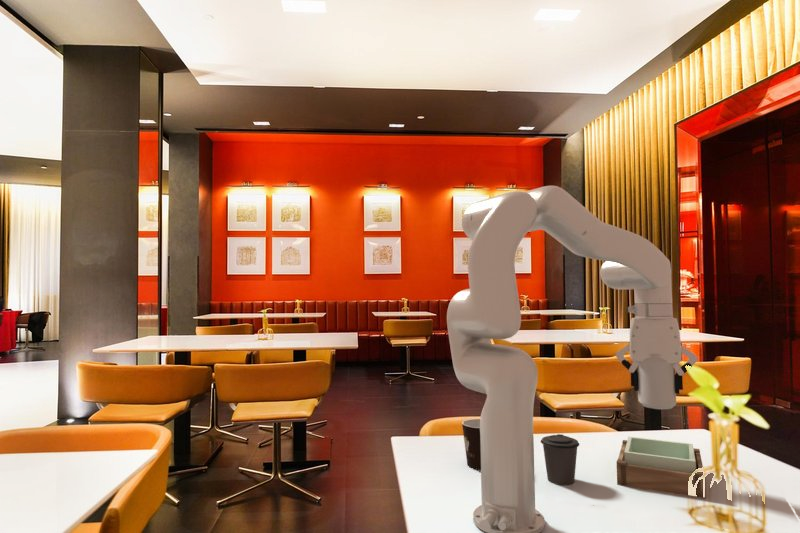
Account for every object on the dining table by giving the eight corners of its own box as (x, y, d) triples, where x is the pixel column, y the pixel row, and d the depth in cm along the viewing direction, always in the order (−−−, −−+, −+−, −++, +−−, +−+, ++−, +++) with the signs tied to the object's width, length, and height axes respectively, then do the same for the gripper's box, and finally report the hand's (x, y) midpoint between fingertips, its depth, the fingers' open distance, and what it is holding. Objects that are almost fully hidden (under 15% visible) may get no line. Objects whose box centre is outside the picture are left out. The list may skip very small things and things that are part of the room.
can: (667, 402, 112) (665, 350, 113) (683, 410, 105) (680, 353, 105) (633, 402, 113) (631, 350, 114) (646, 410, 105) (644, 353, 106)
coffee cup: (568, 476, 111) (567, 431, 112) (588, 489, 103) (586, 441, 104) (535, 478, 110) (534, 433, 110) (552, 492, 102) (551, 443, 102)
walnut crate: (706, 502, 96) (704, 474, 97) (617, 488, 104) (616, 462, 104) (700, 473, 112) (699, 449, 112) (623, 462, 120) (623, 439, 120)
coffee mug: (464, 458, 124) (463, 418, 124) (498, 460, 122) (498, 419, 123) (460, 474, 112) (459, 430, 113) (498, 477, 111) (497, 432, 111)
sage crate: (697, 492, 99) (695, 461, 99) (625, 481, 105) (624, 452, 106) (693, 471, 111) (692, 443, 111) (629, 462, 117) (628, 436, 117)
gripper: (609, 312, 111) (612, 391, 110) (699, 312, 103) (703, 398, 102) (613, 311, 118) (615, 385, 116) (697, 311, 109) (701, 391, 108)
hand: (656, 390), depth 109 cm, fingers closed on can, 7 cm apart
